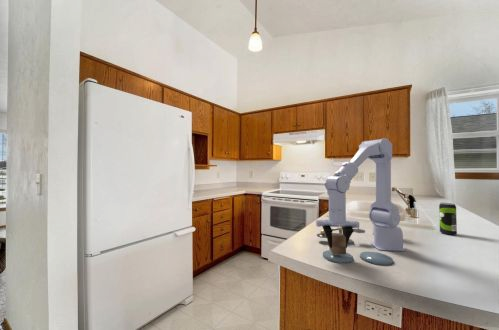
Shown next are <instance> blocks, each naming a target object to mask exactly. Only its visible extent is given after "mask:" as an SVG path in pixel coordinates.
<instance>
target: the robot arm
mask: <svg viewBox="0 0 499 330" xmlns="http://www.w3.org/2000/svg"><path fill="white" fill-rule="evenodd" d="M367 159H369V160H371V161H372V162H374V163H375V201H374V202H372V203H370V207H369V208H370V210H369V212H368V217H369V221H371V222H372V225H373V224H374V234H373V236H374V237H373V239H374V241H372V242H370V245H371V246H373V247H374V248H376V249H377V250H378V251H392V252H393V251H397V252H405V249H404V234H403V230H402V228H401V226H399V224H400V223H401V215H400V212H399V207H398V205H396V204H395V203H393V202H392V159H393V143H392V142H391V140H389V139H388V138H387V137H384V138H383V137H382V138H380V139H371V140H363V141H362V142H361V144H359V145H358V150H357V152H356V153H355V154H354V156H353V157H352V158H351V160H350V161H345V162H342V164H341V166H340V167H339V168H338V170H337V171H335V173H334V174H333V175H330V176H329V177H327V178H326V180H325V183H324V187H325V189H326V191H327V196H328V219H316V220H315V226H316V227H319V228H320V227H322V230H324V231H325V234H326V237H327V238H326V240H327V243H328V247H330V248H332V233H333V231H332V229H333V228H332V227H335V228H339V227H342V234H343V235H344V236H345V237H346V249H347V248H348V245H349V244H348V241H349V239H350V238H351V237H352V235H353V233H354V232H353V229H354V228H352V227H356V228H355V229H358V228H359V229H360V221H357V220H347V217H346V216H347V212H346V211H347V209H346V207H347V206H346V205H347V204H346V203H347V202H346V201H347V200H346V192H347V191H349V189H350V185H351V182H352V180H353V178H355V176H356V175H357V174H358V173H359V167H360V166H361V165H362V164H363V163H364V162H365V161H366V160H367ZM381 208H383V209H381Z"/></svg>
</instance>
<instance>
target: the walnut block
mask: <svg viewBox="0 0 499 330" xmlns="http://www.w3.org/2000/svg"><path fill="white" fill-rule="evenodd" d="M328 247H329V246H328ZM328 250H330V251H331V252H332V253H333V254H346V253H347V248H346V237H345V236H344V235H343V232H342V233H339V232H338V233H337V232H332V248H330V247H329V249H328Z"/></svg>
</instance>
